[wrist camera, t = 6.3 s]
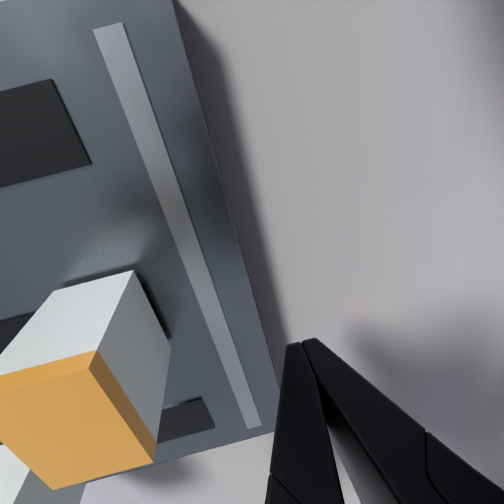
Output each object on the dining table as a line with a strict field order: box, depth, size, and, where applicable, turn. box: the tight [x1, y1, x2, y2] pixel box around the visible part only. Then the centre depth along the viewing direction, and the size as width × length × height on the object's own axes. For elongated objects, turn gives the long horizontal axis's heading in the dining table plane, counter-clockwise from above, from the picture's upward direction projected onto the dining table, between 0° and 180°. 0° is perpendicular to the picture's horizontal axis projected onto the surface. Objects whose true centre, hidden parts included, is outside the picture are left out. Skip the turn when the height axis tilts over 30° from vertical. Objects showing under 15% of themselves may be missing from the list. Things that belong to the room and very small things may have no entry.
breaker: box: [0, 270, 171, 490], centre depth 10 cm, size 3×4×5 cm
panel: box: [0, 0, 280, 483], centre depth 13 cm, size 18×20×2 cm
